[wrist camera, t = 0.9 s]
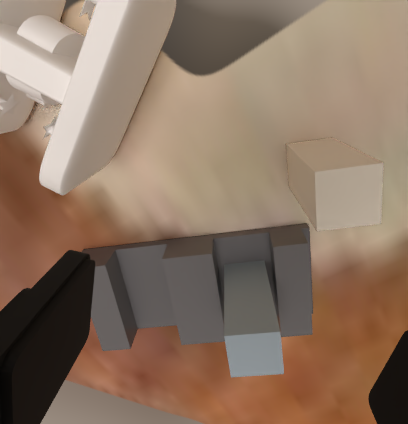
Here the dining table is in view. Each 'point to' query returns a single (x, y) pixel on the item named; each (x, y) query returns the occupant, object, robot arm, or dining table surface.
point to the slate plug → (251, 321)
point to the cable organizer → (78, 77)
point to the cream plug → (335, 183)
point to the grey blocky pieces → (197, 283)
